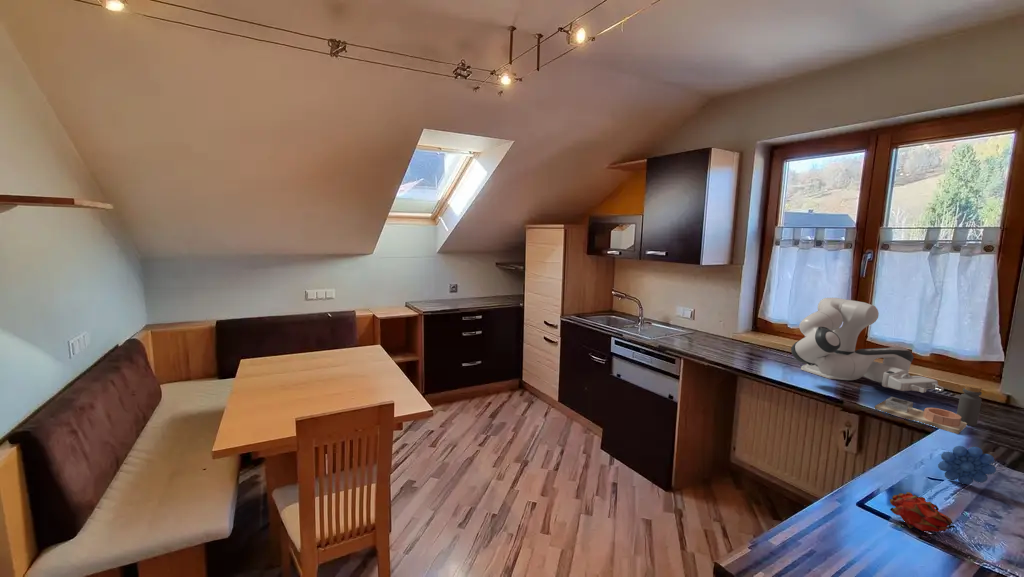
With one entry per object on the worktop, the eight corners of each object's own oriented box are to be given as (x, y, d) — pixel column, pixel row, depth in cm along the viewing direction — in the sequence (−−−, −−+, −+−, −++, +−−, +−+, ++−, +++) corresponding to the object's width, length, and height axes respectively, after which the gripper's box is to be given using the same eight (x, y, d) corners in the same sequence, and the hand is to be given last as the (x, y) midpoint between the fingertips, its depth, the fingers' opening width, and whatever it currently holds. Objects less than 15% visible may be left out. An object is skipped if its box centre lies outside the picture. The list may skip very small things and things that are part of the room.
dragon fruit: (882, 516, 115) (943, 549, 107) (882, 511, 110) (947, 545, 101) (895, 487, 117) (957, 517, 108) (896, 480, 111) (962, 511, 102)
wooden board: (874, 409, 183) (874, 405, 182) (884, 403, 189) (885, 400, 189) (958, 434, 162) (958, 430, 162) (966, 426, 169) (967, 423, 169)
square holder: (884, 406, 182) (885, 399, 181) (890, 403, 186) (891, 396, 185) (906, 413, 176) (907, 406, 176) (912, 409, 180) (913, 402, 180)
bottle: (980, 427, 169) (988, 389, 167) (962, 425, 170) (970, 387, 168) (968, 420, 175) (975, 384, 173) (951, 418, 176) (958, 382, 174)
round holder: (920, 418, 172) (921, 410, 171) (927, 412, 177) (929, 405, 177) (955, 428, 163) (957, 420, 163) (962, 422, 169) (964, 415, 169)
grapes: (987, 484, 129) (995, 446, 128) (993, 495, 124) (1002, 455, 122) (933, 470, 136) (940, 434, 134) (937, 480, 131) (944, 442, 129)
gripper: (914, 384, 199) (950, 396, 186) (879, 386, 194) (913, 398, 181) (916, 370, 198) (953, 381, 185) (881, 372, 193) (916, 384, 180)
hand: (933, 390), depth 183 cm, fingers open, 8 cm apart
